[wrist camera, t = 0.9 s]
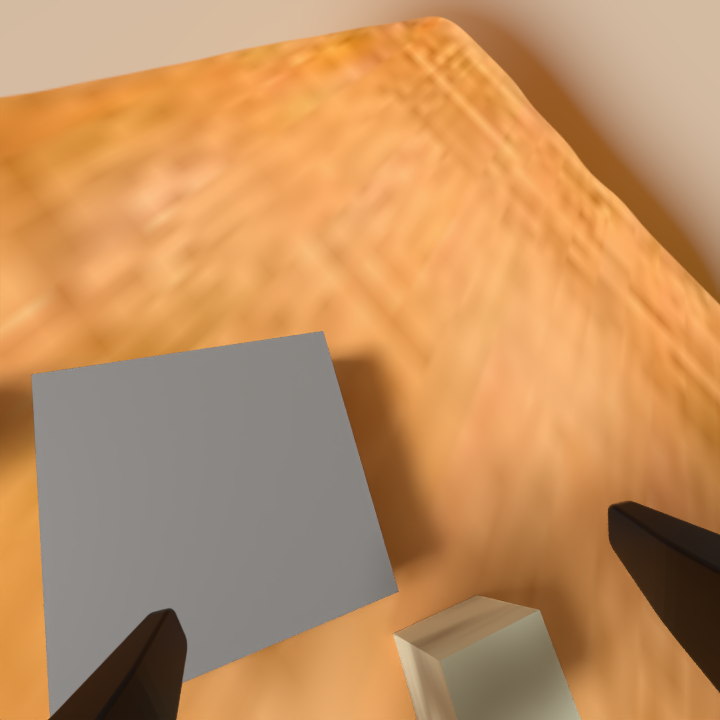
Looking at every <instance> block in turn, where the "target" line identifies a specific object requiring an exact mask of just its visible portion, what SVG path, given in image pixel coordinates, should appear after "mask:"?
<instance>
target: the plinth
mask: <svg viewBox="0 0 720 720" xmlns="http://www.w3.org/2000/svg"><path fill="white" fill-rule="evenodd" d="M32 393H33V412H34V430H35V449H36V467H37V485H38V504H39V522H40V541H41V559H42V578H43V596H44V615H45V633H46V652H47V670H48V689H49V707H50V717H51V716H52V715H53V714H54V713H55V712H56V711H57V710H58V709H59V708H60V707H61V706H62V705H63V704H64V703H65V702H66V700H67V699H68V698H69V697H70V696H71V695H72V694H73V693H74V692H75V691H76V690H77V689H78V688H79V687H80V686H81V685H82V684H83V683H84V682H85V680H86V679H87V678H88V677H89V676H90V675H91V674H92V673H93V672H94V671H95V670H96V669H97V668H98V667H99V666H100V665H101V664H102V663H103V662H104V661H105V659H106V658H107V657H108V656H109V655H110V654H111V653H112V652H113V651H114V650H115V649H116V648H117V647H118V646H119V645H120V644H121V643H122V642H123V641H124V639H125V638H126V637H127V636H128V635H129V634H130V633H131V632H132V631H133V630H134V629H135V628H136V627H137V626H138V625H139V624H140V623H141V622H142V621H143V620H144V618H145V617H146V616H147V615H149V614H150V613H151V612H154V611H158V610H162V609H167V608H172V609H173V610H174V611H175V612H176V614H177V617H178V619H179V621H180V624H181V626H182V628H183V631H184V633H185V635H186V638H187V656H186V662H185V668H184V675H183V681H182V683H183V682H186V681H188V680H190V679H193V678H195V677H197V676H200V675H202V674H205V673H207V672H209V671H212V670H214V669H216V668H219V667H221V666H223V665H226V664H228V663H231V662H233V661H235V660H238V659H240V658H242V657H245V656H247V655H250V654H252V653H254V652H257V651H259V650H261V649H264V648H266V647H269V646H271V645H273V644H276V643H278V642H280V641H283V640H285V639H288V638H290V637H292V636H295V635H297V634H299V633H302V632H304V631H307V630H309V629H311V628H314V627H316V626H318V625H321V624H323V623H325V622H328V621H330V620H333V619H335V618H337V617H340V616H342V615H344V614H347V613H349V612H352V611H354V610H356V609H359V608H361V607H363V606H366V605H368V604H371V603H373V602H375V601H378V600H380V599H382V598H385V597H387V596H390V595H392V594H394V593H397V592H399V591H398V588H397V584H396V581H395V577H394V574H393V571H392V567H391V564H390V560H389V557H388V553H387V550H386V546H385V543H384V539H383V536H382V533H381V529H380V526H379V522H378V519H377V515H376V512H375V508H374V505H373V501H372V498H371V495H370V491H369V488H368V484H367V481H366V477H365V474H364V470H363V467H362V463H361V460H360V457H359V453H358V450H357V446H356V443H355V439H354V436H353V432H352V429H351V425H350V422H349V419H348V415H347V412H346V408H345V405H344V401H343V398H342V394H341V391H340V387H339V384H338V381H337V377H336V374H335V370H334V367H333V363H332V360H331V356H330V353H329V349H328V346H327V343H326V339H325V336H324V332H323V331H320V332H314V333H307V334H300V335H293V336H287V337H280V338H273V339H267V340H260V341H253V342H247V343H240V344H233V345H226V346H220V347H213V348H206V349H200V350H193V351H186V352H179V353H173V354H166V355H159V356H153V357H146V358H139V359H132V360H126V361H119V362H112V363H106V364H99V365H92V366H85V367H79V368H72V369H65V370H59V371H52V372H45V373H38V374H32Z"/></svg>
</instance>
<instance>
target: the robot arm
mask: <svg viewBox="0 0 720 720" xmlns="http://www.w3.org/2000/svg"><path fill="white" fill-rule="evenodd" d="M608 531H609V541H610V544H611V546H612V548H613V550H614V551H615V553H616V554H617V556H618V557H619V559H620V560H621V562H622V563H623V565H624V566H625V568H626V569H627V571H628V572H629V574H630V575H631V576H632V578H633V579H634V581H635V582H636V584H637V585H638V587H639V588H640V590H641V591H642V593H643V594H644V596H645V597H646V599H647V600H648V602H649V603H650V605H651V606H652V607H653V609H654V610H655V612H656V613H657V615H658V616H659V617H660V619H661V620H662V622H663V623H664V624H665V626H666V627H667V628H668V629H669V631H670V632H671V633H672V635H673V636H674V637H675V638H676V640H677V641H678V642H679V643H680V645H681V646H682V647H683V648H684V649H685V651H686V652H687V653H688V654H689V656H690V657H691V658H692V659H693V661H694V662H695V663H696V664H697V665H698V667H699V668H700V669H701V670H702V672H703V673H704V674H705V675H706V677H707V678H708V679H709V680H710V681H711V683H712V684H713V685H714V686H715V688H716V689H717V690H718V691H719V693H720V535H719V534H717V533H714V532H712V531H709V530H706V529H704V528H701V527H698V526H696V525H693V524H691V523H688V522H685V521H683V520H680V519H677V518H675V517H672V516H670V515H667V514H664V513H662V512H659V511H657V510H654V509H651V508H649V507H646V506H643V505H641V504H638V503H636V502H633V501H624V502H619V503H615V504H612V505H610V506H609V508H608ZM186 656H187V638H186V635H185V633H184V631H183V628H182V626H181V624H180V621H179V619H178V617H177V614H176V612H175V611H174V610H173V609H172V608H167V609H162V610H158V611H154V612H151V613H150V614H149V615H147V616H146V617H145V618H144V620H143V621H142V622H141V623H140V624H139V625H138V626H137V627H136V628H135V629H134V630H133V631H132V632H131V633H130V634H129V635H128V636H127V637H126V638H125V639H124V641H123V642H122V643H121V644H120V645H119V646H118V647H117V648H116V649H115V650H114V651H113V652H112V653H111V654H110V655H109V656H108V657H107V658H106V659H105V661H104V662H103V663H102V664H101V665H100V666H99V667H98V668H97V669H96V670H95V671H94V672H93V673H92V674H91V675H90V676H89V677H88V678H87V679H86V680H85V682H84V683H83V684H82V685H81V686H80V687H79V688H78V689H77V690H76V691H75V692H74V693H73V694H72V695H71V696H70V697H69V698H68V699H67V700H66V702H65V703H64V704H63V705H62V706H61V707H60V708H59V709H58V710H57V711H56V712H55V713H54V714H53V715H52V716H51V717H50V718H49V719H48V720H176V719H177V713H178V706H179V700H180V694H181V687H182V681H183V675H184V668H185V662H186Z"/></svg>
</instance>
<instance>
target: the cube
mask: <svg viewBox="0 0 720 720" xmlns="http://www.w3.org/2000/svg"><path fill="white" fill-rule="evenodd" d="M393 635H394V638H395V642H396V646H397V649H398V653H399V656H400V660H401V664H402V667H403V671H404V674H405V678H406V682H407V685H408V689H409V692H410V696H411V700H412V703H413V707H414V710H415V714H416V718H417V720H581V718H580V716H579V713H578V710H577V708H576V705H575V702H574V700H573V697H572V694H571V692H570V689H569V686H568V684H567V681H566V678H565V676H564V673H563V670H562V668H561V665H560V663H559V660H558V657H557V655H556V652H555V649H554V647H553V644H552V641H551V639H550V636H549V633H548V631H547V628H546V625H545V623H544V620H543V617H542V615H541V612H540V610H539V609H534V608H530V607H526V606H522V605H518V604H513V603H509V602H505V601H501V600H497V599H492V598H488V597H484V596H480V595H476V596H474V597H471V598H469V599H467V600H465V601H463V602H461V603H458V604H456V605H454V606H452V607H450V608H448V609H445V610H443V611H441V612H439V613H437V614H435V615H432V616H430V617H428V618H426V619H424V620H421V621H419V622H417V623H415V624H413V625H411V626H408V627H406V628H404V629H402V630H400V631H398V632H395V633H393Z"/></svg>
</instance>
